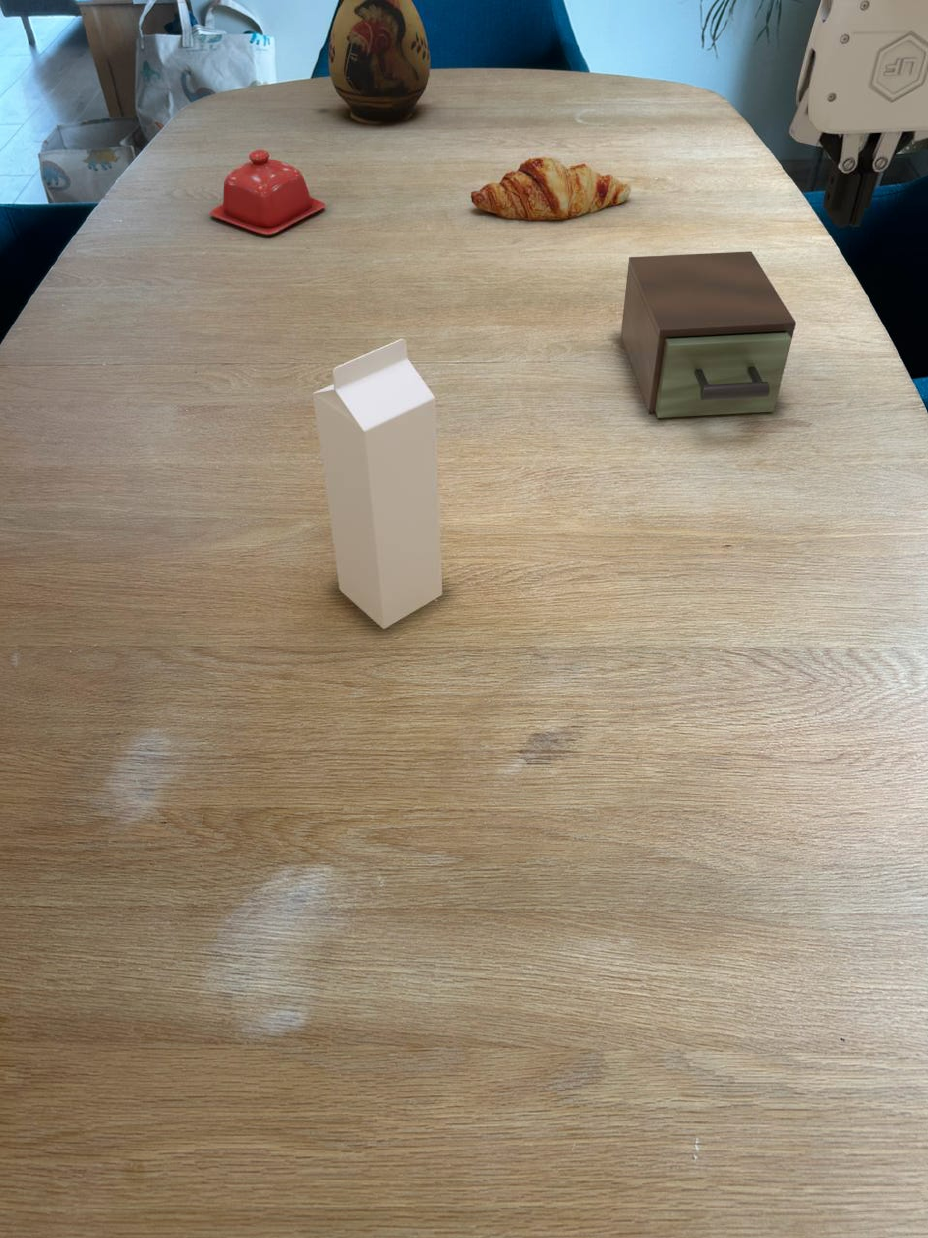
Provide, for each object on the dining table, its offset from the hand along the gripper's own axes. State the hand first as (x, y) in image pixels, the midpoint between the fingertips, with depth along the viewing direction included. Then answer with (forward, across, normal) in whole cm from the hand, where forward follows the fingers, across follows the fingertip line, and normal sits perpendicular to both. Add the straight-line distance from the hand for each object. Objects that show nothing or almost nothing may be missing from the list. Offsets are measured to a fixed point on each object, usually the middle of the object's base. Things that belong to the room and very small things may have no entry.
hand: (842, 218), depth 76 cm
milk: (+23, -36, -14) cm, 45 cm away
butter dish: (+23, -50, +59) cm, 81 cm away
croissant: (+23, -13, +57) cm, 63 cm away
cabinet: (+23, -4, +16) cm, 28 cm away
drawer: (+22, -4, +12) cm, 26 cm away
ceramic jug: (+23, -35, +95) cm, 104 cm away
